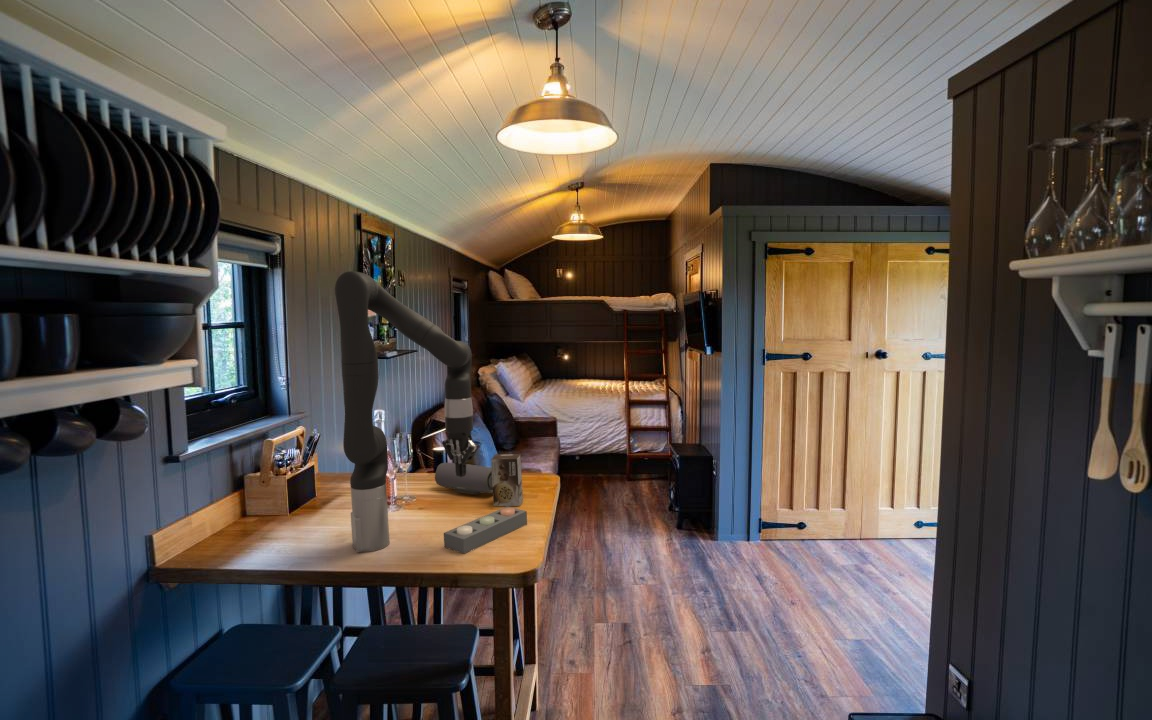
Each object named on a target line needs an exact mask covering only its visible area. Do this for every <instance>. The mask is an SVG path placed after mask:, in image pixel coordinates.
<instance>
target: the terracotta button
mask: <svg viewBox="0 0 1152 720" xmlns="http://www.w3.org/2000/svg"><path fill="white" fill-rule="evenodd" d="M502 508H503V509H502ZM502 508H500V509H501V515H503V516H507V517H509V516H511V515H513V514H515V509H514V508H515V507H512V508H504V507H502Z"/></svg>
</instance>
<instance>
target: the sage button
mask: <svg viewBox="0 0 1152 720" xmlns="http://www.w3.org/2000/svg"><path fill="white" fill-rule="evenodd" d="M481 517H482V518H481ZM481 517H479V518H480V524H481V525H485V526H488V525H491V524H493V523H495V521H494V517H491V516H486V517H483V516H481Z"/></svg>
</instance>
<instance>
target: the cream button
mask: <svg viewBox="0 0 1152 720" xmlns="http://www.w3.org/2000/svg"><path fill="white" fill-rule="evenodd" d="M460 526H461V525H460ZM457 527H458V528H457ZM457 527H456V528H457V534H459V535H462V536H466V535H468V534H470V533H472V527H471V526H461V527H459V526H457Z"/></svg>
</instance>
